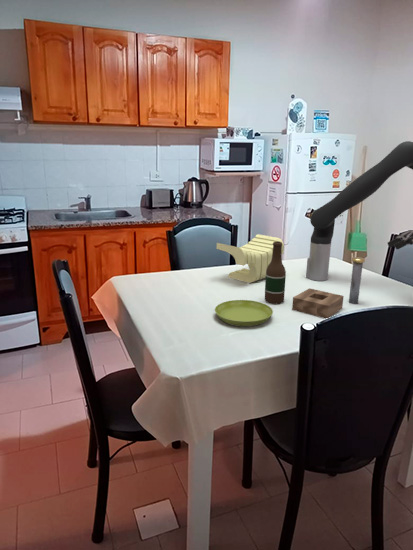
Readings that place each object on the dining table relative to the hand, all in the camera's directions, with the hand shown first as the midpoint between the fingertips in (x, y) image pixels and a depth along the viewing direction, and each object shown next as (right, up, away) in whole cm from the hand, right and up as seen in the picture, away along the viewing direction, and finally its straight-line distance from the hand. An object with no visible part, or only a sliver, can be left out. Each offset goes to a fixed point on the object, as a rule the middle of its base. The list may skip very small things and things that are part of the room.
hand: (391, 246), depth 160 cm
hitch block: (-29, -24, -2) cm, 38 cm away
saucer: (-58, -27, -10) cm, 65 cm away
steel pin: (-13, -22, +5) cm, 26 cm away
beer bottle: (-44, -22, +6) cm, 50 cm away
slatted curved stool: (-51, -13, +37) cm, 64 cm away
